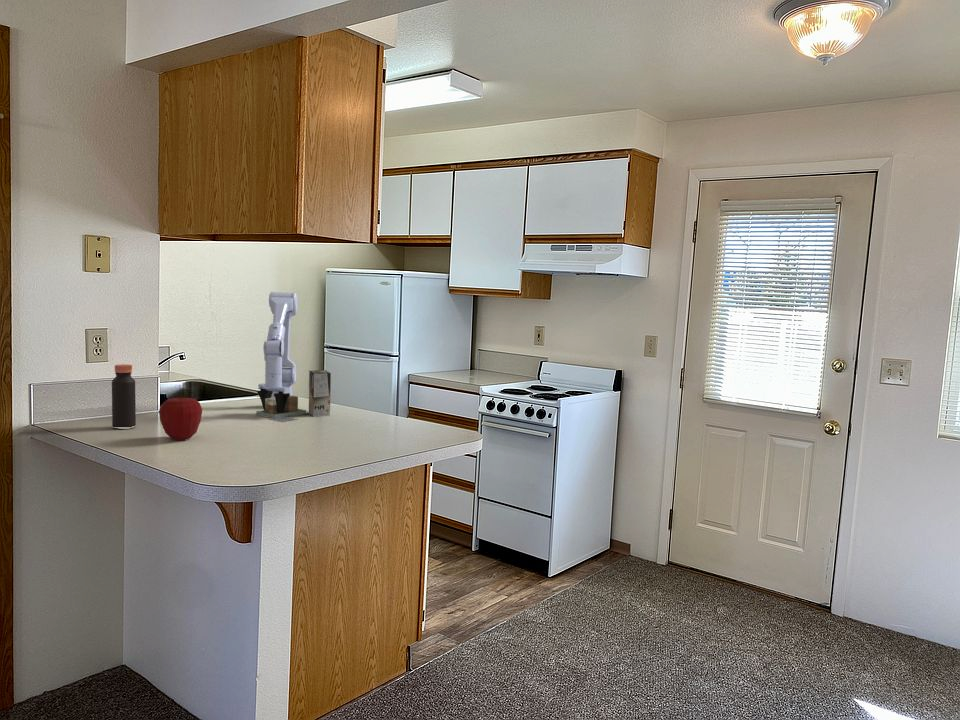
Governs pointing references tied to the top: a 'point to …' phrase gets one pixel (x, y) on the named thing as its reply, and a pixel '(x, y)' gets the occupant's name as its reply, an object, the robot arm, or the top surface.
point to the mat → (283, 419)
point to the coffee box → (319, 392)
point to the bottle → (123, 397)
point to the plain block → (291, 404)
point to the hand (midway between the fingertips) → (273, 411)
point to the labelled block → (271, 406)
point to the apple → (180, 417)
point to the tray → (262, 413)
